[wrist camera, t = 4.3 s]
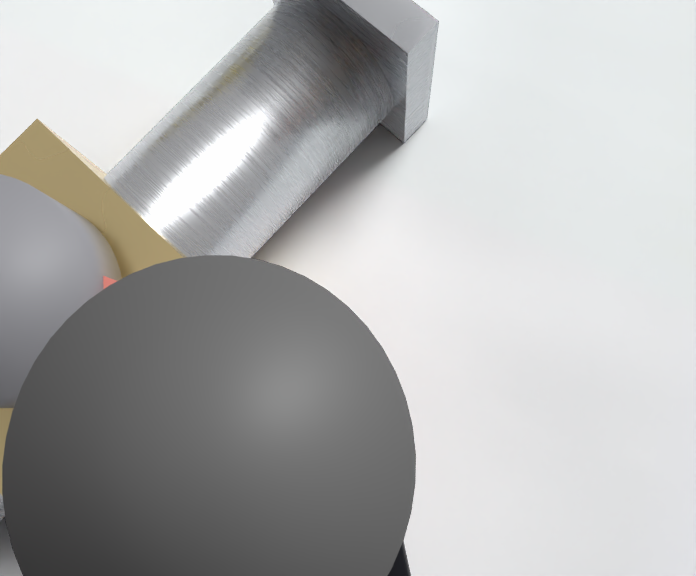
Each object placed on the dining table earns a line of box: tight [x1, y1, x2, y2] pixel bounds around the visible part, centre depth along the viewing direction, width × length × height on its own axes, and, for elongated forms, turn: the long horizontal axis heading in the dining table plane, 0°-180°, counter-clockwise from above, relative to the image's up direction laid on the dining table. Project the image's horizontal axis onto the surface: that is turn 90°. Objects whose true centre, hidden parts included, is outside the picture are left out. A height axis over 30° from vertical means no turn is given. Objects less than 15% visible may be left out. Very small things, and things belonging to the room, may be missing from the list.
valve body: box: [0, 0, 439, 521], centre depth 16 cm, size 22×6×5 cm, turn 137°
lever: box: [0, 174, 416, 576], centre depth 9 cm, size 11×4×8 cm, turn 69°
